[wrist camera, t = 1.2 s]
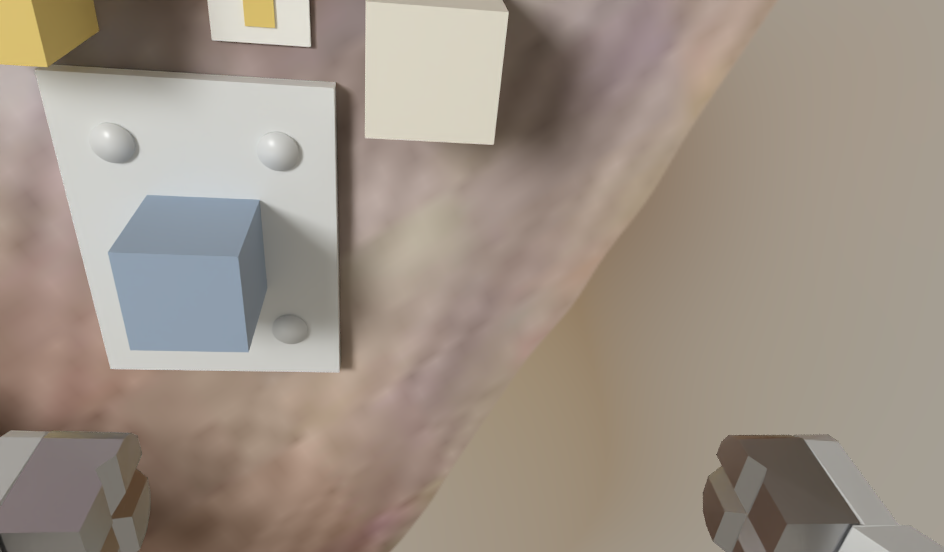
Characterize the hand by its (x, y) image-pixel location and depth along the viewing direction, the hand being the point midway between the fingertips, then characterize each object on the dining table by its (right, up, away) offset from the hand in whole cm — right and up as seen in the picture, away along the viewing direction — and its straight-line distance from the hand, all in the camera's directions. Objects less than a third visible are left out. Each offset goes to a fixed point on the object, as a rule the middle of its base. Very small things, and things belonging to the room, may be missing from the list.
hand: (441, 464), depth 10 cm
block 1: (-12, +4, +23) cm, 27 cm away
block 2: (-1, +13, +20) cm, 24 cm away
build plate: (-12, +5, +24) cm, 27 cm away
